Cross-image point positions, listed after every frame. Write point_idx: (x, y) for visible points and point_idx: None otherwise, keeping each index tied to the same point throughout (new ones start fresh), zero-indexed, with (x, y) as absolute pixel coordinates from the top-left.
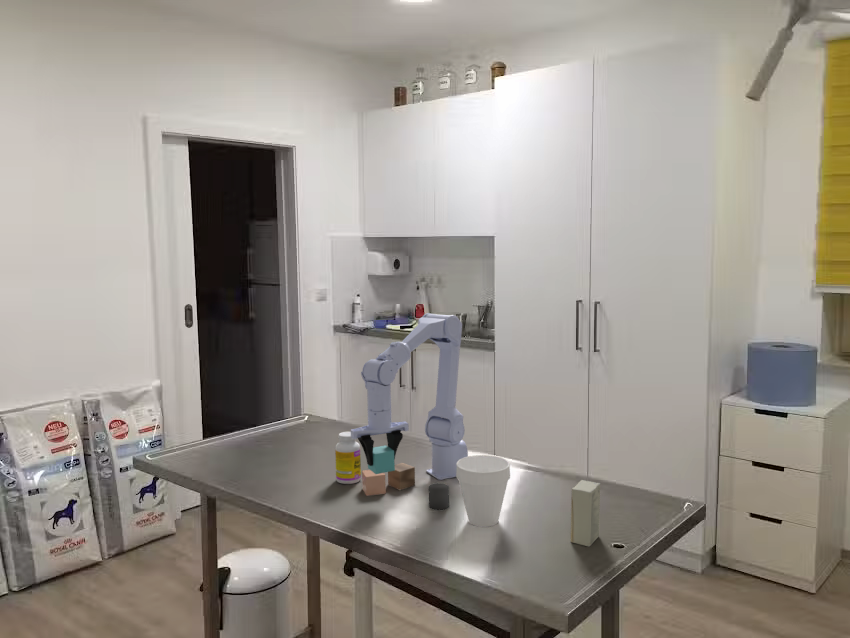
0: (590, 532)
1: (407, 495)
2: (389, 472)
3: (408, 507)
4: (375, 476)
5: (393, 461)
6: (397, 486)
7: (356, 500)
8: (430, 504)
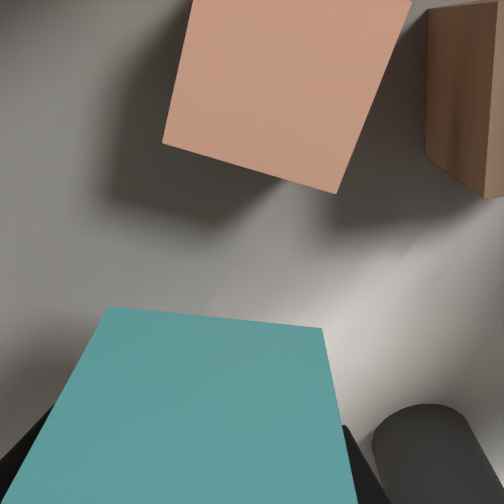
0: None
1: (399, 257)
2: (472, 31)
3: None
4: (250, 167)
5: None
6: (432, 129)
7: (93, 150)
8: (377, 459)
